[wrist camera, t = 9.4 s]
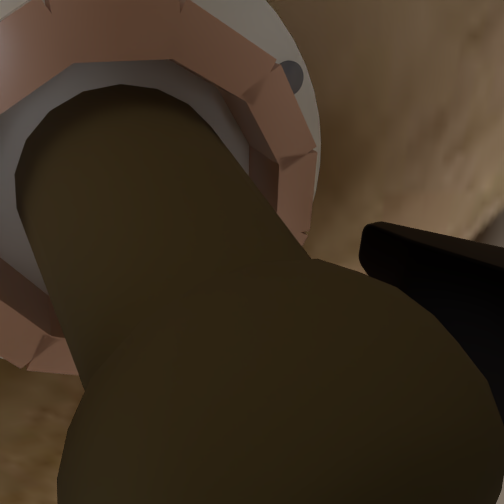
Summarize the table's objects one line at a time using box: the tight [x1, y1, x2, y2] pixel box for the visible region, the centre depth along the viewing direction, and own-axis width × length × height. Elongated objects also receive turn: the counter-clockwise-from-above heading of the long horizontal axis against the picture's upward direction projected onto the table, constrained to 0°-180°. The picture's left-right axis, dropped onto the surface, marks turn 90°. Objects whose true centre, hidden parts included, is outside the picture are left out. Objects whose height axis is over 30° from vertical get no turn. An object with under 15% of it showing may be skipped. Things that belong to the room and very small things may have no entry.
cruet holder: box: [0, 0, 321, 375], centre depth 12 cm, size 13×13×3 cm
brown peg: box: [14, 84, 504, 504], centre depth 8 cm, size 6×6×11 cm
